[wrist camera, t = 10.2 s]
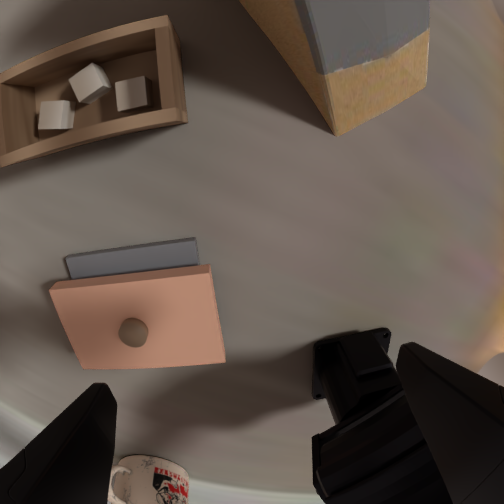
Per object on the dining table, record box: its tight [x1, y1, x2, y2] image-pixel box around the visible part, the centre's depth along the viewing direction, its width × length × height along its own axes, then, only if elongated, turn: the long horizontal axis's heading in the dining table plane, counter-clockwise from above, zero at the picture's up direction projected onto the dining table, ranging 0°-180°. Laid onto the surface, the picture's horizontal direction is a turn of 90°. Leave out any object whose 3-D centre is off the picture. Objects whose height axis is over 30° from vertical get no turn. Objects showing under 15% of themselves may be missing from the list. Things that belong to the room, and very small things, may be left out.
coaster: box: [65, 237, 200, 280], centre depth 20 cm, size 9×9×1 cm
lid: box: [49, 264, 225, 369], centre depth 19 cm, size 11×7×3 cm, turn 95°
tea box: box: [0, 15, 188, 168], centre depth 13 cm, size 10×5×4 cm, turn 95°
